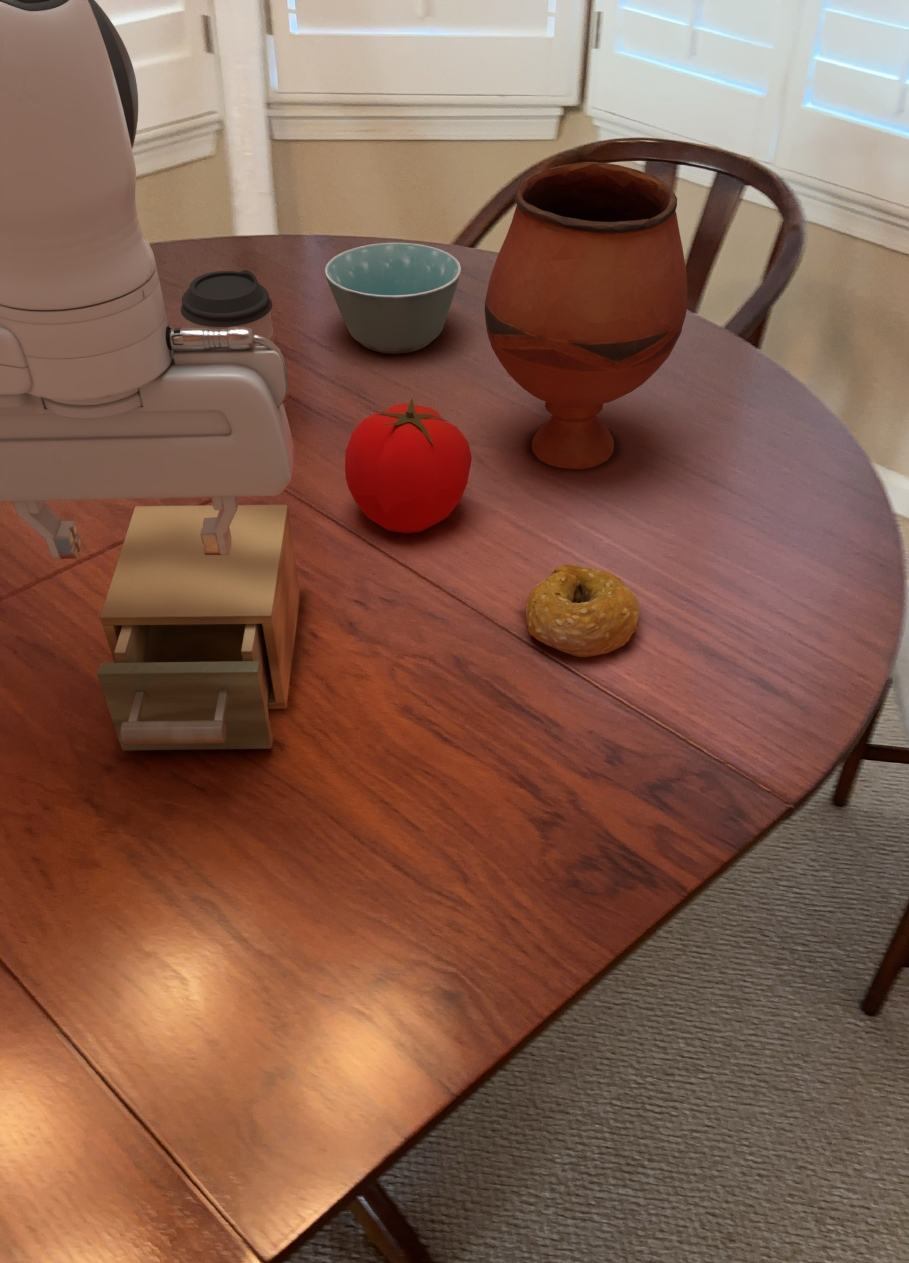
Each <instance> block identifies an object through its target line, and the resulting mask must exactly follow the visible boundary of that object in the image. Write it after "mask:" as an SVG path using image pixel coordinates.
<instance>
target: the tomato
mask: <svg viewBox="0 0 909 1263" xmlns="http://www.w3.org/2000/svg"><path fill="white" fill-rule="evenodd" d="M413 399H414V398H413V397H411V398H410V401H409V403H408V402H407V403H406V402H404V403H397V404H396V403H395V404H392V405H391V406H390V407H389V408H387V409H386V410H385V411H383V412H382V411H376V410H372V412H373V414H371V415H369V416H367V417H365V418H363V419H362V420H361V421H360V422H359V423H358V424H357V426H356V427H355V429H354V430H353V432H352V433H351V435H350V438H349V440H348V443H347V446H346V449H345V452H344V453H345V455H344V474H345V480H346V485H347V488H348V490H349V493H350V494H351V496H352V498H353V500H354V502H355V504H356V505H357V506H358V507H359V509H360V510H361V512H363V513H364V515H365V516H366V517H367V519H369V520H370V521H372V522H374V524H377V525H379V526H380V527H382V528H383V529H385V530H386V531H389V532H395V533H400V534H413V533H421V532H423V531H425V530H428V529H429V528H431V527H433V526H435V525H437V524H438V523H441V522H443V521H444V520H446V519H447V518H448V517H449V516H450V514H451V513H452V512H453V511H454V509H455V508H456V507H457V506H458V505H459V503H460V502H461V500H462V497H463V495H464V492H465V490H466V487H467V485H468V483H469V477H470V471H471V465H472V460H473V457H472V452H471V447H470V442H469V440H468V439H467V438H466V436H465V435H464V434H463V433H462V431H461V430H460V429H459V427H458V426H457V425H455V424H452V423H451V422H449V421H450V420H448V419H444V418H443V416H442V415H441V414H440V412H438V411H437V410H436V409H434V408H432V407H430V406H424V405H418V404H414V400H413Z"/></svg>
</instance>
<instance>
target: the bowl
mask: <svg viewBox="0 0 909 1263" xmlns="http://www.w3.org/2000/svg"><path fill="white" fill-rule="evenodd" d="M461 273H462V266H461V264H460V262H459V260H458V259H457V257H455V256H454V255H452V254H451V253H449V252H447V251H445V250H442V249H440V248H437V247H433V246H430V245H425V244H420V243H411V242H380V243H373V244H371V243H370V244H366V245H363V246H357V247H354V248H350V249H348V250H345V251H343V252H341V253H339V254H336V255H335V256H334V257H332V258H331V259H330V260H328V262H327V263H326V265H325V267H324V276H325V278H326V281H327V282H328V286H329V288H330V291H331V293H332V296H333V298H334V301H335V303H336V306H337V308H338V310H339V313H340V314H341V317H342V319H343V321H344V323H345V326H346V328H347V330H348V333H349V334H350V336H351V337H352V338H353V339H354V340H355V341H357V342H358V343H359V344H360V345H362V346H363V347H364V348H366V349H368V350H370V351H373V352H377V353H381V354H389V355H391V354H392V355H393V354H394V355H397V354H398V355H400V354H408V353H413V352H417V351H420V350H422V349H425V348H426V347H427V346H429V345H430V344H431V343H432V342H433V341H434V340H435V339H437V338H438V337H439V336H440V334H441V333H442V332H443V329H444V326H445V323H446V320H447V317H448V314H449V310H450V309H451V305H452V303H453V300H454V296H455V294H456V289H457V287H458V283H459V280H460V277H461Z"/></svg>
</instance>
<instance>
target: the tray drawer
mask: <svg viewBox="0 0 909 1263" xmlns="http://www.w3.org/2000/svg"><path fill="white" fill-rule="evenodd" d="M114 654H115V657H116V660H117V663H114V662H100V663H99V666H98V669H97V672H96V675H97V678H98V682H99V684H100V687H101V690H102V694H103V696H104V699H105V702H106V705H107V709H108V711H109V715H110V718H111V720H112V724H113V727H114V730H115V732H116V735H117V739H118V741H119V745H120V747H121V751H189V750H192V751H193V750H258V749H259V750H264V749H265V750H266V749H269V750H270V749H272V748H273V742H274V741H273V740H274V735H273V730H272V725H271V719H270V714H269V709H268V707H267V705H268V698H269V691H270V684H271V673H270V667H269V661H268V655H267V649H266V643H265V638H264V632H263V626H262V624H195V625H122V628H121V632H120V635H119V638H118V642H117V645H116V649H115V652H114Z"/></svg>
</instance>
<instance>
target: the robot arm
mask: <svg viewBox="0 0 909 1263" xmlns="http://www.w3.org/2000/svg"><path fill="white" fill-rule="evenodd" d="M138 121H139V92H138V84H137V77H136V74H135V69H134V66H133V62H132V60H131V57H130V54H129V52H128V48H127V47H126V45H125V43H124V41H123V39H122V37H121V35H120V34H119V31H118V30H117V28H116V26H115V25H114V24H113V22H112V21H111V18H110V17H109V16H108V15H107V13H106V12H105V11H104V10H103V8H102V7H101V6H100V5H99V3H98V2H97V1H96V0H0V503H7V502H9V503H11V502H12V505H13V508H14V511H15V513H16V515H17V516H18V517H19V518H20V519H21V520H22V521H23V522H24V523H26V525H28V526H29V527H30V528H31V529H32V530H34V532H36V533H37V534H38V535H39V536H40V537H41V538H44V540H45V543H46V545H47V548H48V551H49V554H50V557H51V559H53V560H71V559H78V558H79V552H81V550H82V539H81V536H80V535H79V534H78V533H77V532H78V526H77V524H76V521H75V520H62V519H61V518H60V517H59V516H58V514H56V513H55V511H54V510H52V508H51V507H50V506H49V505H48V503H46V502H55V501H57V502H59V501H96V500H97V501H98V500H99V501H101V500H103V501H105V500H107V501H108V500H147V499H148V500H149V499H188V498H189V499H190V498H195V499H196V498H211V502H212V505H213V508H214V509H215V510H220V511H219V513H218V515H217V517H212V518H204V521H203V528H202V529H201V539H202V543H203V544H204V545H205V546H204V553H205V555H229V554H230V549H231V533H230V528H229V526H230V524H231V522H232V520H233V518H234V516H235V514H236V511H237V508H238V505H239V502H240V499H241V497H274V496H275V497H276V496H279V495H281V494H282V493H283V492H284V491H285V489H286V488H287V487H288V485H289V484H290V482H291V481H292V480H293V479H292V478H293V476H294V468H295V447H294V446H295V445H294V442H293V436H292V432H291V427H290V423H289V419H288V414H287V412H286V409H285V408H286V407H285V404H284V402H285V401H286V399H287V396H288V394H289V380H288V370H287V365H286V360H285V356H284V354H283V352H282V351H281V349H280V348H279V347H278V346H277V345H276V343H275V342H274V343H273V342H272V341H270V340H269V339H267V338H265V337H262V336H259V335H254V331H253V329H250V328H246V327H230V328H228V329H220V330H219V329H215V330H214V329H210V330H209V329H206V328H187V327H170V324H169V320H168V314H167V310H166V306H165V301H164V296H163V291H162V286H161V282H160V281H161V280H160V277H159V272H158V267H157V262H156V258H155V255H154V251H153V249H152V246H151V245H150V243H149V241H148V239H147V236H146V235H145V233H144V230H143V229H142V228H143V227H142V226H141V225H142V224H141V222H140V219H139V215H138V210H137V203H136V190H137V166H136V162H135V158H134V157H135V156H134V153H133V148H134V144H135V139H136V136H137V129H138ZM255 343H258V344H261V345H263V346H255Z"/></svg>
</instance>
